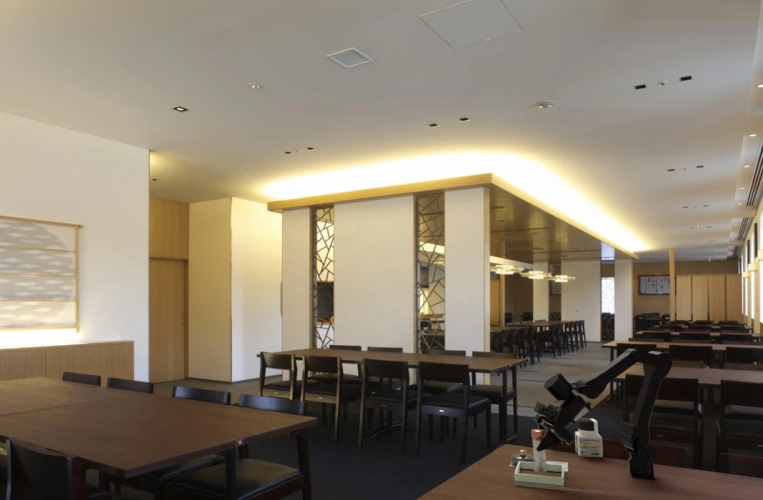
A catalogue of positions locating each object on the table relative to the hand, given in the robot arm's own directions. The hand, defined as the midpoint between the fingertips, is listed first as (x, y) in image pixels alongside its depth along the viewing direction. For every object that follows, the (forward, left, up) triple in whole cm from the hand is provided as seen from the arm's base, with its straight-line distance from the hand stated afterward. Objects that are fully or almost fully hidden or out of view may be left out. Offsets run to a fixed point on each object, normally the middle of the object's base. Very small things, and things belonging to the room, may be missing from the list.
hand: (534, 448), depth 166 cm
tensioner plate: (0, -13, -9) cm, 16 cm away
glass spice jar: (-1, -1, -7) cm, 7 cm away
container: (-16, -32, -9) cm, 37 cm away
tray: (-1, 0, -9) cm, 9 cm away
